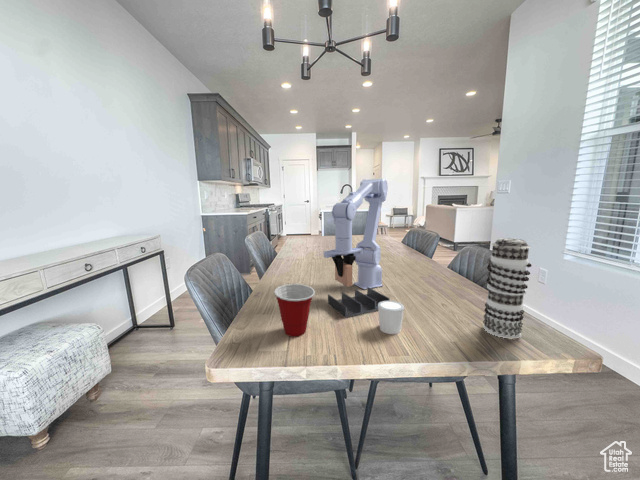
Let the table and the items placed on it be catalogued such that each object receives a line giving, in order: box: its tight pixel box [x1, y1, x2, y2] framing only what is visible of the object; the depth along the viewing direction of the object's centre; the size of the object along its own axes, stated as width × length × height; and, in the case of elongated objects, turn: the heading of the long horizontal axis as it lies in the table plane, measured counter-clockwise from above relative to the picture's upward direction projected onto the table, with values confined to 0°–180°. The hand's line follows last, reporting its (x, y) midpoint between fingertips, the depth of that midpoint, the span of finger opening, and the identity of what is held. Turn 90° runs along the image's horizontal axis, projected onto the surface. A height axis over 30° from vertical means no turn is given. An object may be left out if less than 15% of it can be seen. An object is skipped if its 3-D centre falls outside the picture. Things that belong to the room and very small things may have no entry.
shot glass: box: [377, 300, 405, 335], centre depth 71 cm, size 7×7×7 cm
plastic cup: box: [274, 283, 316, 338], centre depth 69 cm, size 11×11×12 cm
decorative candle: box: [482, 237, 533, 339], centre depth 67 cm, size 9×9×25 cm
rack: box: [327, 287, 391, 319], centre depth 86 cm, size 17×12×3 cm
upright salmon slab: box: [334, 263, 353, 288], centre depth 91 cm, size 2×9×7 cm, turn 24°
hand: (343, 275), depth 91 cm, fingers closed on upright salmon slab, 2 cm apart
